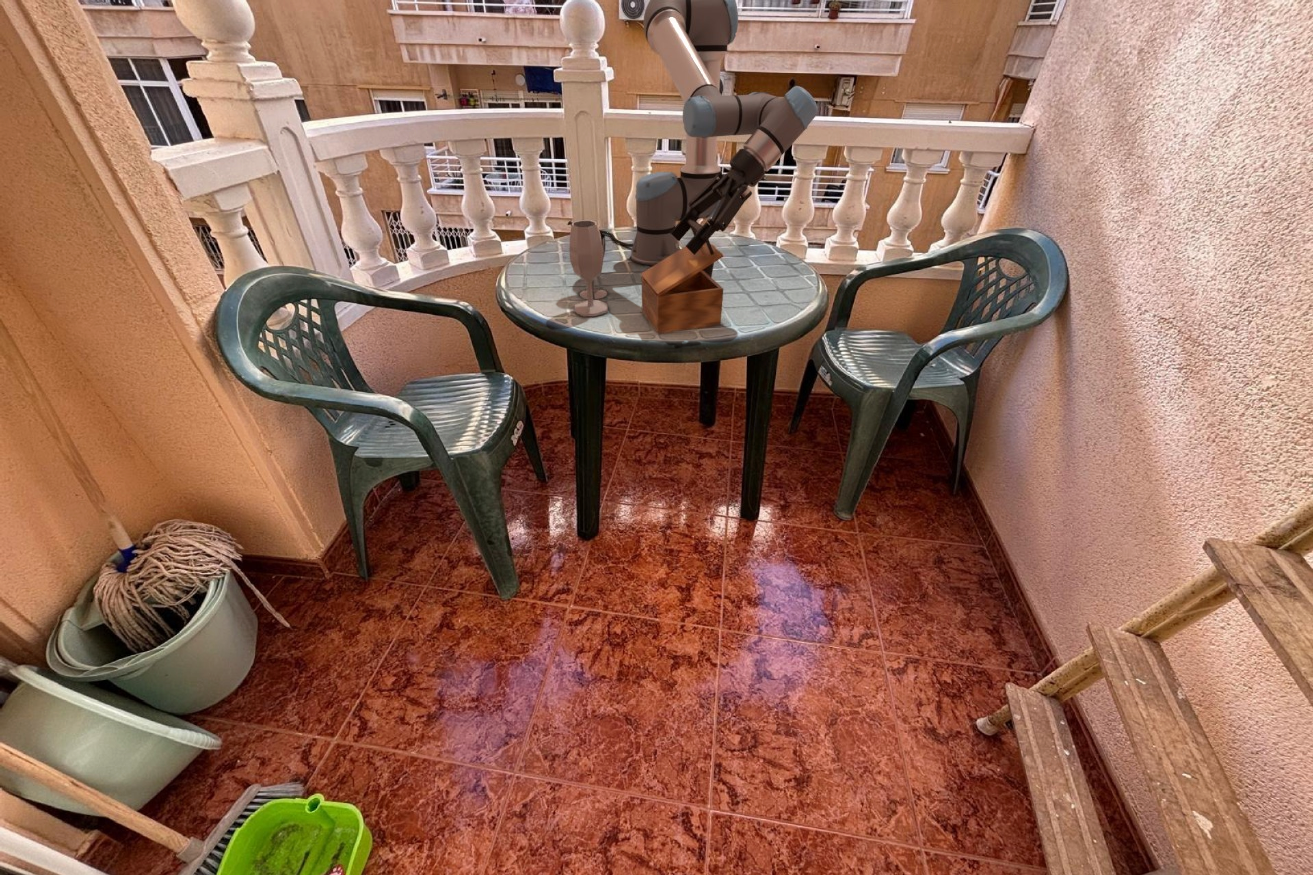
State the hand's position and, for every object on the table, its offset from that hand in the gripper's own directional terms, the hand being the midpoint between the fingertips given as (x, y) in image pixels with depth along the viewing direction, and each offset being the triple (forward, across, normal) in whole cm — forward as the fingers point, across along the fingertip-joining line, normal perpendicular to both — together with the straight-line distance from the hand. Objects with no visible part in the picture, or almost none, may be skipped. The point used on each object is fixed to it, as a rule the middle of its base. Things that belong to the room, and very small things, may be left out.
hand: (682, 243), depth 119 cm
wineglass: (+27, +11, +1) cm, 29 cm away
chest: (+13, 0, -13) cm, 18 cm away
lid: (+4, 0, -4) cm, 5 cm away
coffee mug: (+3, +20, -23) cm, 31 cm away
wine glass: (+25, +21, -1) cm, 33 cm away
